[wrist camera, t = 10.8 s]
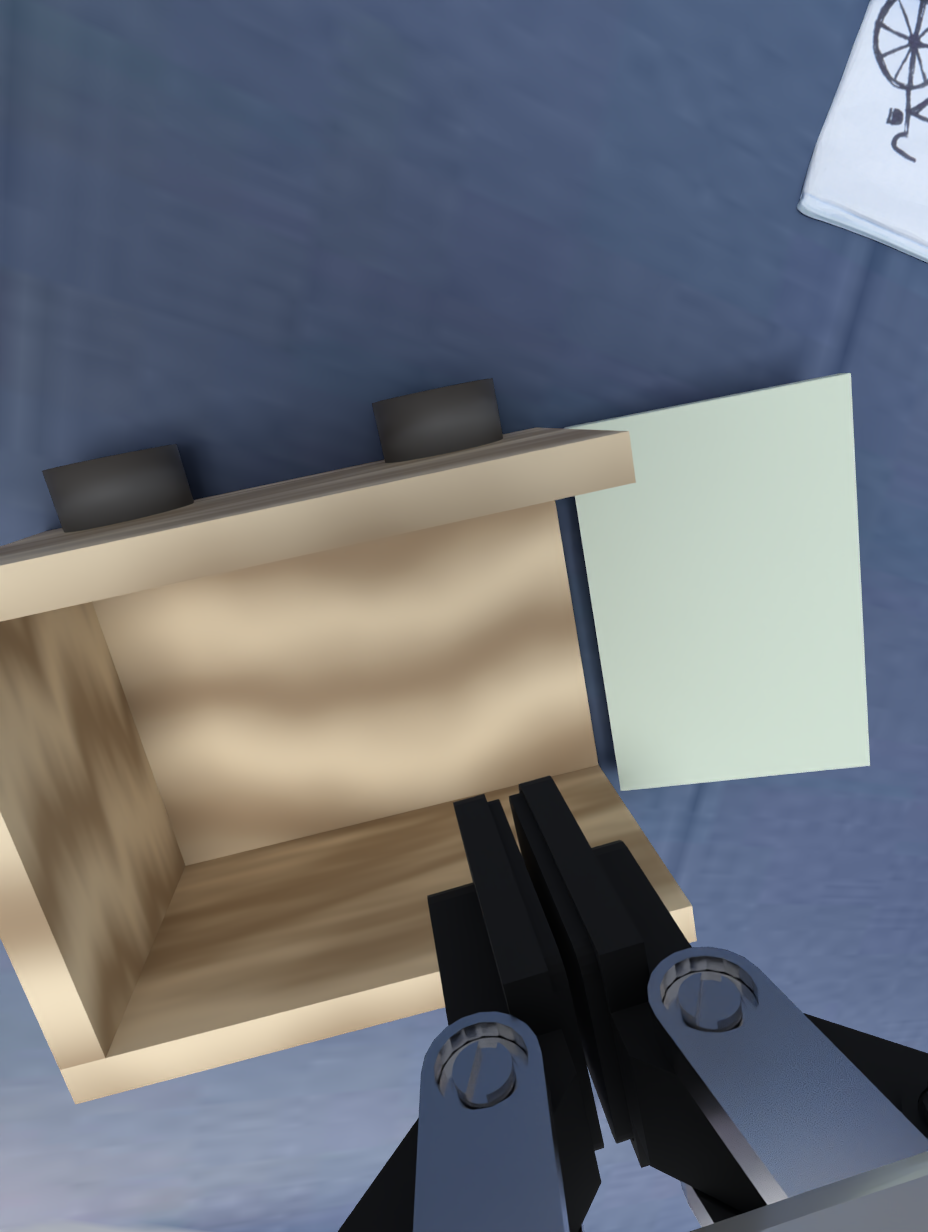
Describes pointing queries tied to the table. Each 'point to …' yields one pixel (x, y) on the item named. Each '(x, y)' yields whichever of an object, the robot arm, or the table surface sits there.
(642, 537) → the panel
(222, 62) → the table surface
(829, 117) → the open book
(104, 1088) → the truck bed
